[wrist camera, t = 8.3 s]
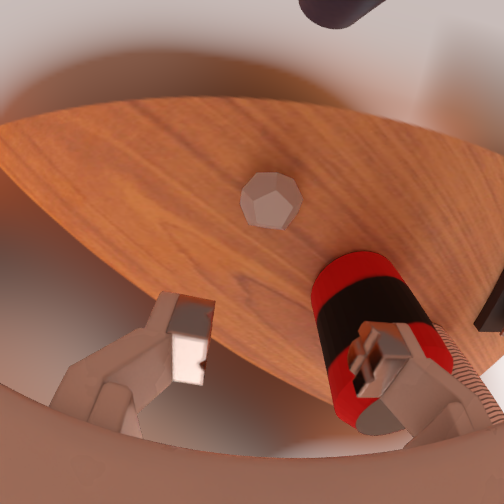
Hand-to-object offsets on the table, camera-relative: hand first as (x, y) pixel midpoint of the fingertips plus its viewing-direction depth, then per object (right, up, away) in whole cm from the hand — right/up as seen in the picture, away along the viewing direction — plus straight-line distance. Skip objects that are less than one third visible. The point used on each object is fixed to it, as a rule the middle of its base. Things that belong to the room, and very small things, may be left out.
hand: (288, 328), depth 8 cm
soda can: (+7, -1, +15) cm, 17 cm away
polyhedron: (0, +6, +12) cm, 13 cm away
